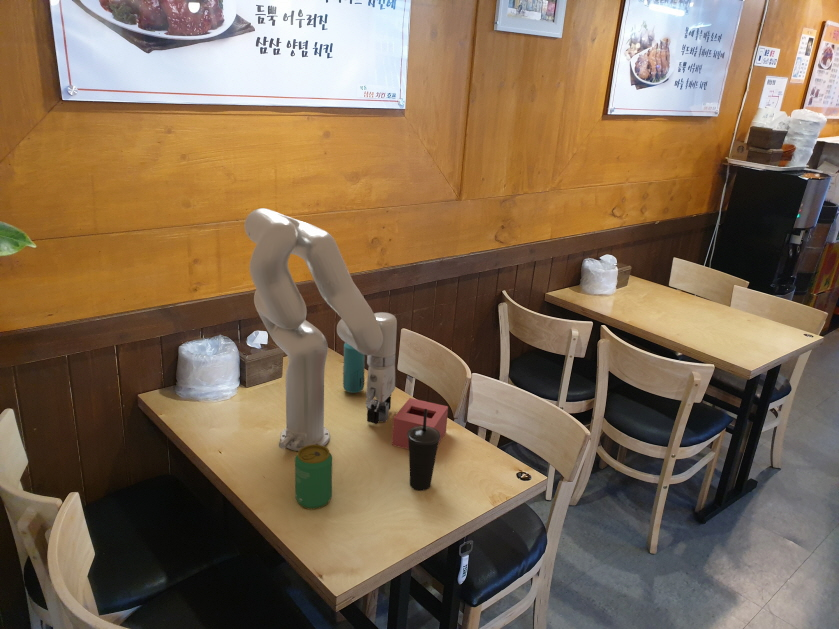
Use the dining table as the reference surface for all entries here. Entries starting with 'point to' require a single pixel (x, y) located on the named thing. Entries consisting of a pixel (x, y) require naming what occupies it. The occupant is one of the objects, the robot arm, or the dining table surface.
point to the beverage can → (313, 476)
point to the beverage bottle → (353, 369)
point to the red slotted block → (417, 420)
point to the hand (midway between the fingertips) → (378, 415)
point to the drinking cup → (422, 454)
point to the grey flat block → (383, 411)
